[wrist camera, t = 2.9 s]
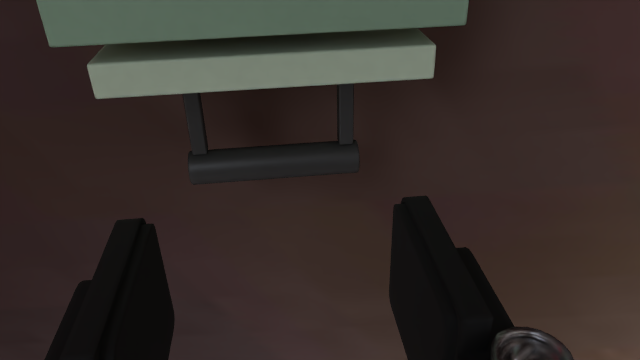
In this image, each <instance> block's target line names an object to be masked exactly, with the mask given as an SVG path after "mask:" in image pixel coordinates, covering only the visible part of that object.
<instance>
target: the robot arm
mask: <svg viewBox="0 0 640 360" xmlns="http://www.w3.org/2000/svg"><path fill="white" fill-rule="evenodd" d="M389 297H390V303H391V307H392V311H393V314H394V317H395V320H396V323H397V326H398V330H399V333H400V336H401V339H402V342H403V345H404V349H405V352H406V355H407V358H408V360H574V359H573V357H572V355H571V353H570V351H569V350H568V349H567V348H566V347H565V345H564V344H563V343H562V342H560V341H559V340H557V339H556V338H555V337H553V336H552V335H550V334H548V333H545V332H543V331H541V330H538V329H534V328H529V327H514V325H513V323H512V321H511V320H510V318H509V316H508V315H507V313H506V311H505V309H504V308H503V306H502V304H501V302H500V301H499V299H498V297H497V296H496V294H495V292H494V290H493V289H492V287H491V285H490V283H489V282H488V280H487V278H486V277H485V275H484V273H483V271H482V270H481V268H480V266H479V264H478V263H477V261H476V259H475V258H474V256H473V254H472V253H471V251H470V250H469V249H468V248H466V247H464V248H455V246H454V244H453V242H452V240H451V239H450V237H449V235H448V233H447V231H446V229H445V227H444V226H443V224H442V222H441V220H440V218H439V216H438V215H437V213H436V211H435V209H434V207H433V205H432V203H431V202H430V200H429V198H428V197H427V196H417V197H404V198H403V199H402V201H401V204H395V205H394V210H393V228H392V247H391V266H390V285H389ZM173 330H174V310H173V305H172V301H171V296H170V292H169V287H168V283H167V279H166V274H165V270H164V265H163V261H162V256H161V252H160V247H159V243H158V238H157V234H156V229H155V226H154V224H146V222H145V220H144V219H143V218H138V219H125V220H118V221H116V223H115V225H114V228H113V230H112V233H111V235H110V237H109V240H108V242H107V245H106V247H105V250H104V252H103V254H102V257H101V259H100V262H99V264H98V266H97V269H96V271H95V274H94V276H93V279H92V280H86V281H82V282H80V283H79V284H78V286H77V288H76V290H75V292H74V294H73V297H72V299H71V301H70V303H69V306H68V308H67V310H66V312H65V315H64V317H63V319H62V321H61V324H60V326H59V328H58V330H57V333H56V335H55V337H54V339H53V342H52V344H51V346H50V349H49V351H48V353H47V355H46V358H45V360H168V357H169V352H170V346H171V341H172V336H173Z"/></svg>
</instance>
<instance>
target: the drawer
mask: <svg viewBox="0 0 640 360" xmlns="http://www.w3.org/2000/svg"><path fill="white" fill-rule="evenodd" d="M435 55H436V45H435V44H434V43H433V42H432V41H431V40H430V39H429V38H428V37H427V36H425V35H424V34H423V33H422V32H421V31H420V30H419V29H418V28H405V29H386V30H368V31H349V32H330V33H312V34H293V35H274V36H255V37H237V38H218V39H199V40H180V41H162V42H143V43H124V44H106V45H105V46H104V47H103V48H102V49H101V50H100V51H99V52H98V53H97V54H96V56H95V57H94V58H93V59H92V60H91V61H90V62H89V63H88V64H87V68H88V72H89V76H90V80H91V84H92V88H93V92H94V96H95V98H96V99H104V98H121V97H137V96H153V95H170V94H183V100H184V106H185V112H186V118H187V124H188V130H189V136H190V142H191V148H192V151H190V152H189V154H188V171H189V177H190V181H191V183H192V184H193V185H195V184H208V183H222V182H235V181H248V180H262V179H275V178H289V177H302V176H315V175H329V174H342V173H356V172H358V171H359V163H360V161H359V149H358V144H357V141H356V140H353V108H354V83H366V82H382V81H399V80H415V79H431V78H433V76H434V67H435ZM333 84H337V136H338V141H328V142H314V143H300V144H285V145H271V146H257V147H242V148H228V149H214V150H208V143H207V136H206V129H205V123H204V116H203V109H202V102H201V96H200V93H202V92H219V91H235V90H251V89H268V88H284V87H300V86H317V85H333Z"/></svg>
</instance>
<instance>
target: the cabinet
mask: <svg viewBox="0 0 640 360" xmlns="http://www.w3.org/2000/svg"><path fill="white" fill-rule="evenodd" d="M36 1H37V5H38V8H39V12H40V15H41V19H42V22H43V26H44V29H45V33H46V36H47V39H48V43H49V46H50V47H68V46H87V45H105V44H124V43H143V42H162V41H180V40H199V39H218V38H237V37H255V36H274V35H293V34H312V33H330V32H349V31H368V30H386V29H405V28H424V27H443V26H461V25H466V21H467V12H468V3H469V0H36Z"/></svg>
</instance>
